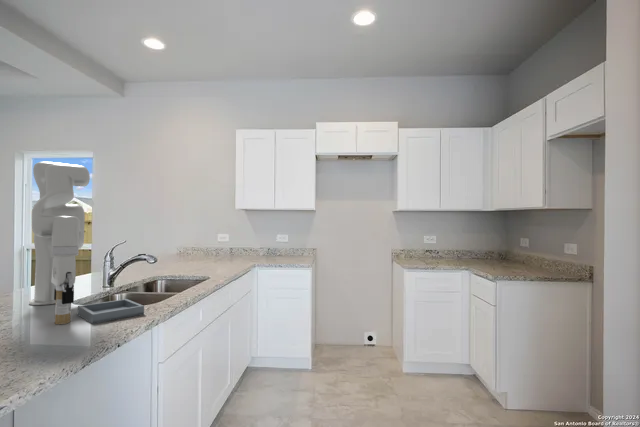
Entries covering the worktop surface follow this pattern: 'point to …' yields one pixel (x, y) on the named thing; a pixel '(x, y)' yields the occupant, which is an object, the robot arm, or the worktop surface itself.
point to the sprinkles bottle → (61, 308)
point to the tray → (110, 310)
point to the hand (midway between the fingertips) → (63, 301)
